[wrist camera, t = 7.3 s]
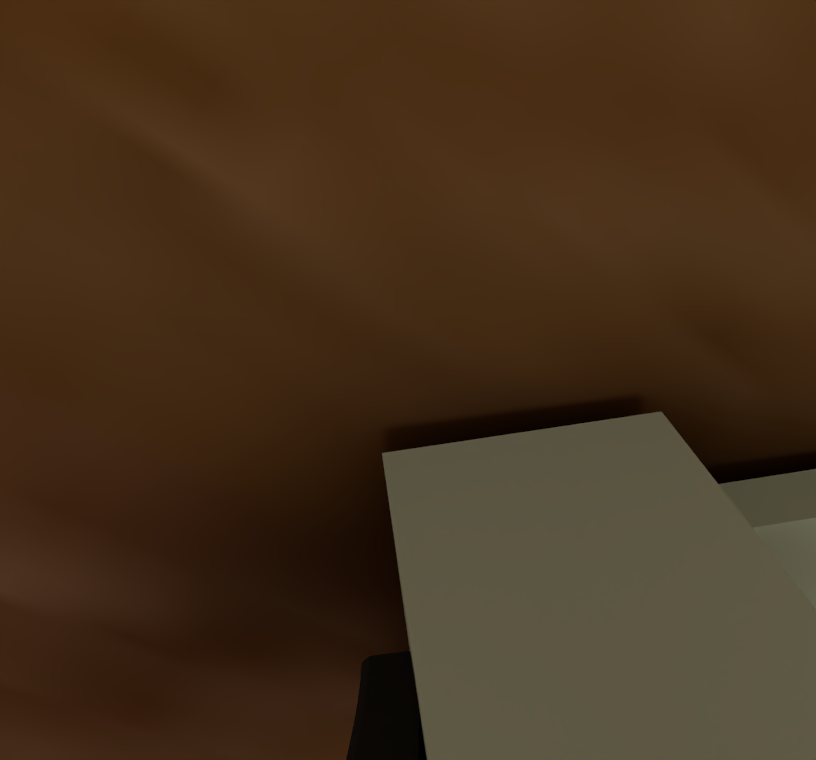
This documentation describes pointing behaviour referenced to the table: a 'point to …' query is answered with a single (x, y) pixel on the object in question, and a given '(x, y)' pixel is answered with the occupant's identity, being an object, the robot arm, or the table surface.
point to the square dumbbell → (605, 598)
